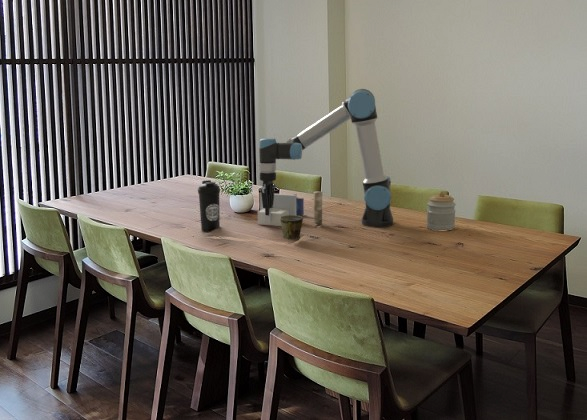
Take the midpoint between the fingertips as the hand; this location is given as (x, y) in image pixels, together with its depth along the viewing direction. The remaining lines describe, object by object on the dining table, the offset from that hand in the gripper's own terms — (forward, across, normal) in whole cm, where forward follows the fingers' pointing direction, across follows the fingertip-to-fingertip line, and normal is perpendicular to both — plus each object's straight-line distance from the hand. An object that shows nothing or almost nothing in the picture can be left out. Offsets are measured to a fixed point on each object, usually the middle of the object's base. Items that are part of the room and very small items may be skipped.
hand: (268, 221), depth 329 cm
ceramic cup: (+4, +16, +18) cm, 24 cm away
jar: (+3, -25, +76) cm, 80 cm away
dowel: (+3, -14, +20) cm, 25 cm away
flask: (+3, -31, +2) cm, 31 cm away
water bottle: (+4, +10, -25) cm, 27 cm away
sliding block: (+2, -7, 0) cm, 7 cm away
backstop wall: (+3, -3, 0) cm, 4 cm away
